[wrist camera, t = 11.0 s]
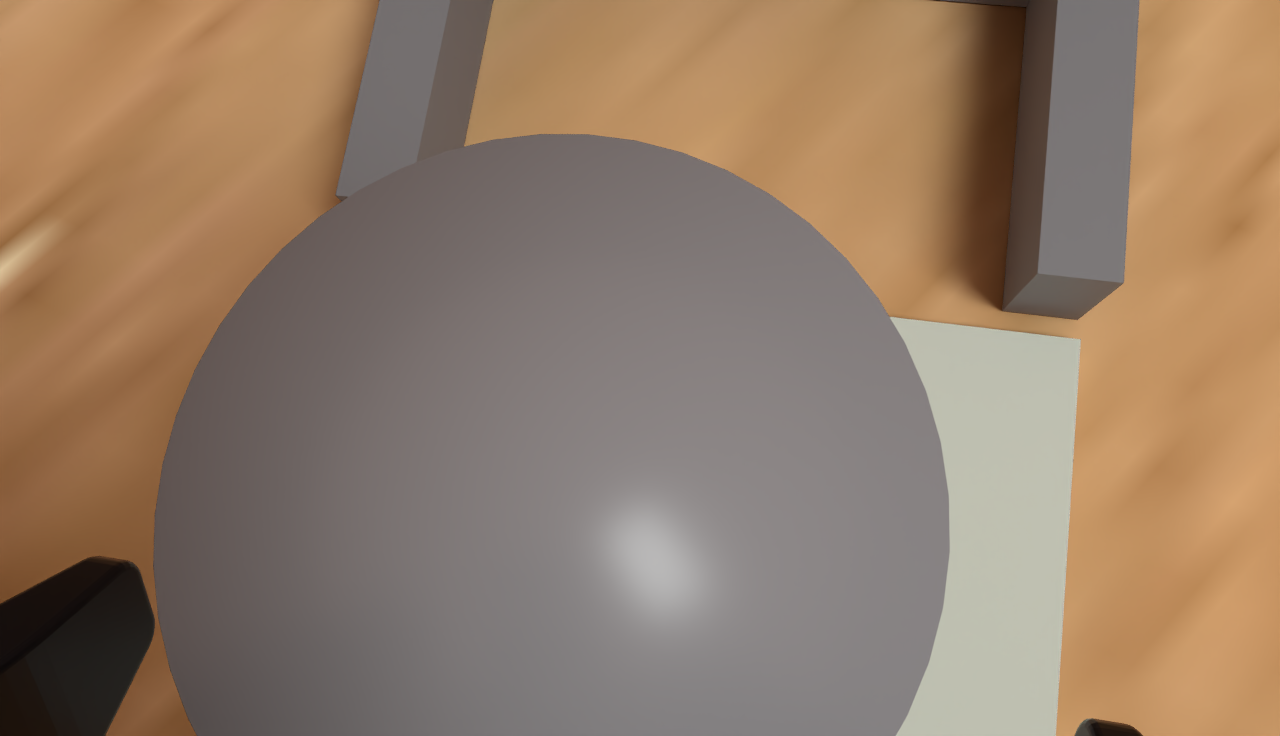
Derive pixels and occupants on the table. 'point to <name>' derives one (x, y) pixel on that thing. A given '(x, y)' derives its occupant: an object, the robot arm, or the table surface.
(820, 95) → the table surface
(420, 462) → the grey capped tube
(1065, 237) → the dispenser rack
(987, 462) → the sage mat
